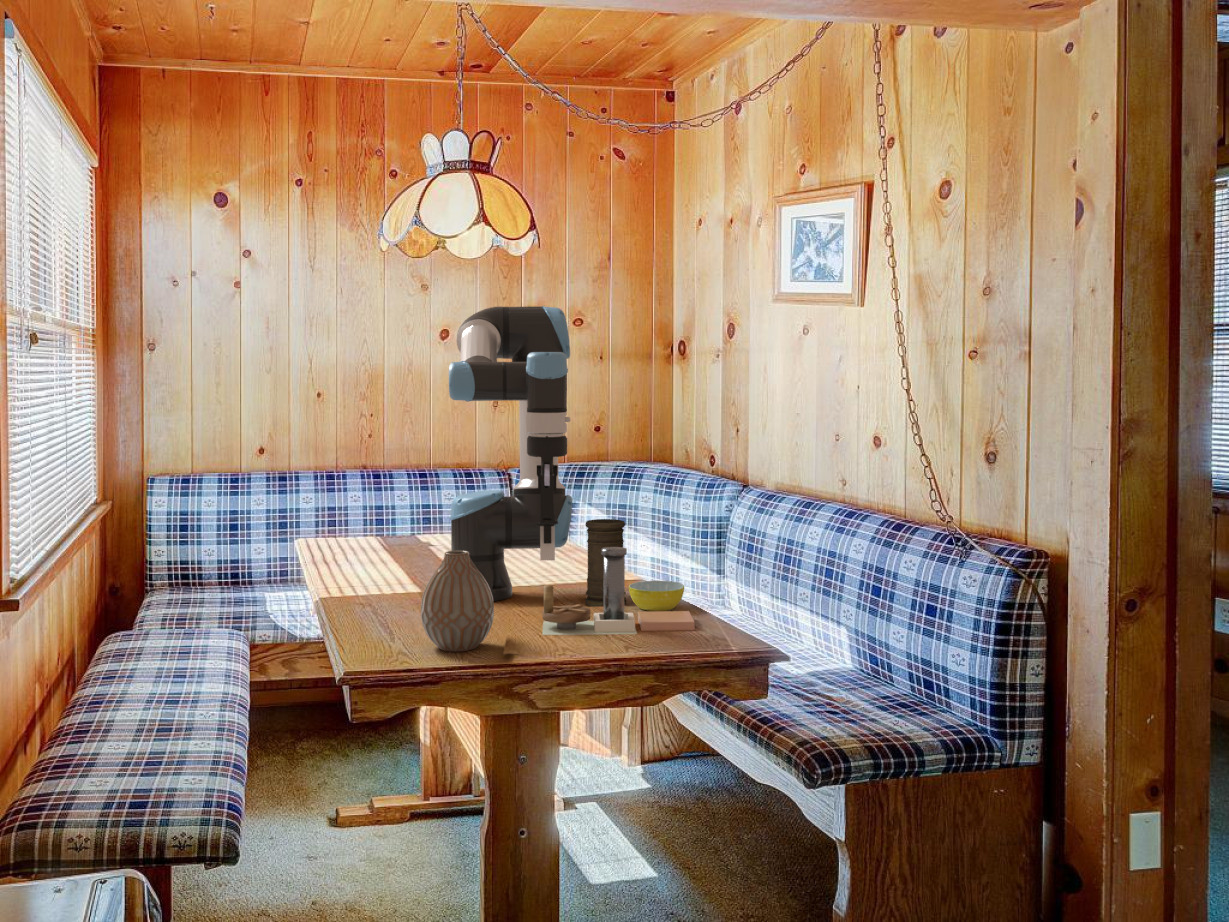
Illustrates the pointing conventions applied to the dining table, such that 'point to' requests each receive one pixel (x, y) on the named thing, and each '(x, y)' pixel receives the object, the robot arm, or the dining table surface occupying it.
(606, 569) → the metal flanged cylinder
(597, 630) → the plate
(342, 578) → the dining table surface
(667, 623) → the rest tile
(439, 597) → the vase
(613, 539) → the container
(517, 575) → the dining table surface
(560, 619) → the handwheel
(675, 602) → the bowl
